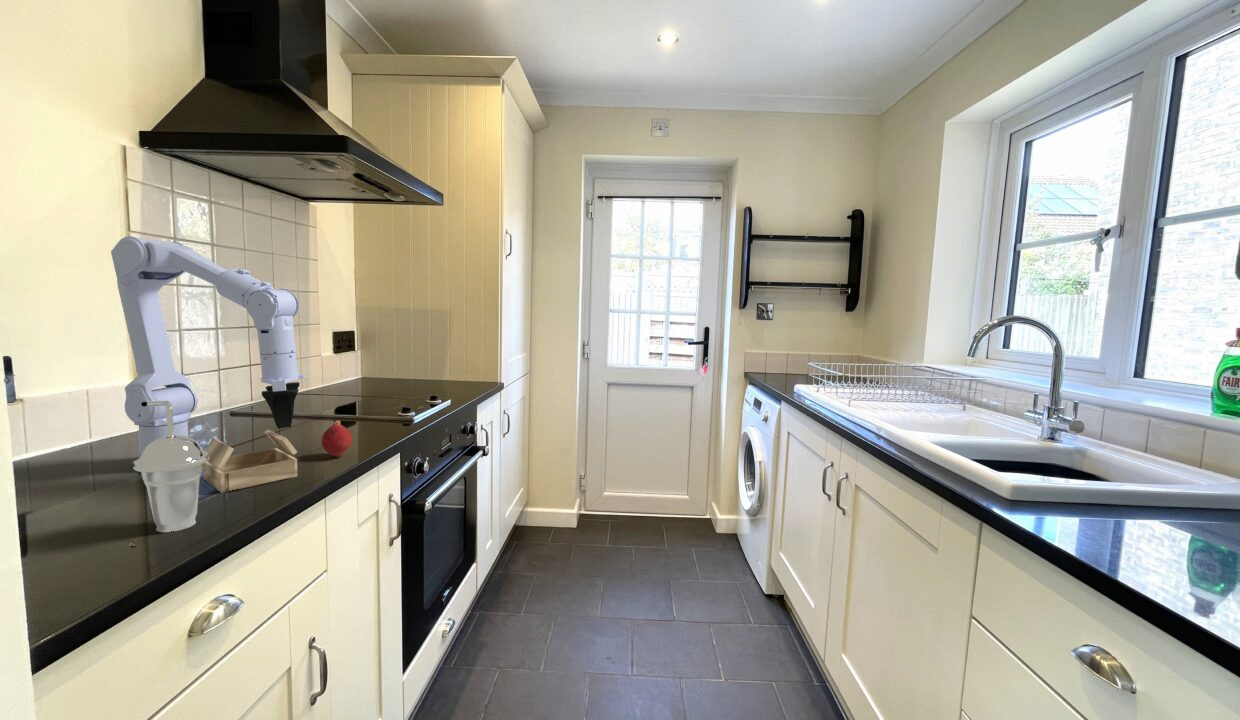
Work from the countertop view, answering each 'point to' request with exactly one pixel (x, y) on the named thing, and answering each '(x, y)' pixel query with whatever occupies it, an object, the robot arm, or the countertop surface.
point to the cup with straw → (172, 476)
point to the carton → (251, 470)
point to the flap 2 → (281, 442)
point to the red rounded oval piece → (336, 439)
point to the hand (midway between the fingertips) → (285, 423)
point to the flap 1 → (218, 452)
